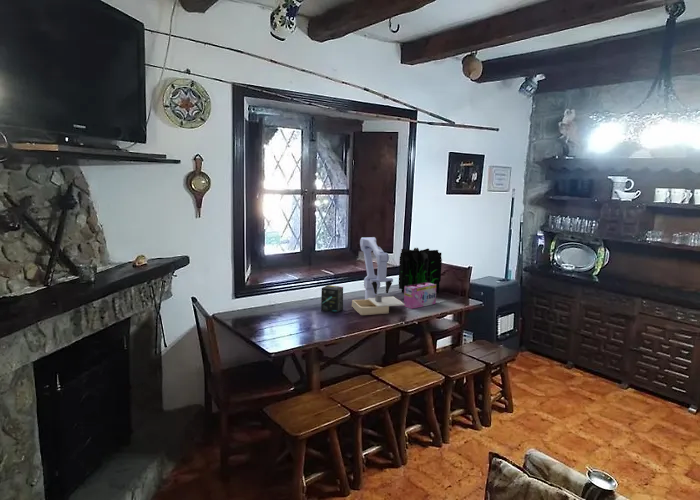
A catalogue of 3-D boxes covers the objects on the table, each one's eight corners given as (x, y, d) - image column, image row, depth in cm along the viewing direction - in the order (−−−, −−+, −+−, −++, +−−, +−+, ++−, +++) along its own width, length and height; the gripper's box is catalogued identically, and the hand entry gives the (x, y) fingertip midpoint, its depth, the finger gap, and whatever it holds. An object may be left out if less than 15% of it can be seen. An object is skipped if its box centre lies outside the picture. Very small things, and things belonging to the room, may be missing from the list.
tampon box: (343, 309, 293) (343, 286, 291) (336, 313, 285) (337, 289, 283) (327, 306, 298) (328, 284, 296) (320, 310, 290) (321, 287, 287)
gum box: (428, 300, 319) (429, 281, 317) (437, 303, 313) (438, 283, 310) (403, 306, 304) (404, 285, 302) (411, 309, 298) (412, 288, 296)
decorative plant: (446, 291, 347) (448, 251, 342) (423, 298, 325) (425, 255, 321) (414, 284, 366) (416, 246, 361) (390, 290, 345) (392, 250, 340)
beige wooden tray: (351, 307, 299) (352, 300, 298) (378, 305, 304) (378, 298, 303) (361, 315, 282) (361, 308, 281) (388, 313, 287) (388, 306, 287)
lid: (367, 299, 301) (367, 291, 300) (393, 297, 307) (393, 290, 306) (377, 306, 284) (377, 299, 283) (404, 305, 290) (404, 297, 289)
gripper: (373, 273, 286) (372, 295, 288) (395, 273, 290) (394, 294, 293) (369, 271, 293) (368, 292, 295) (390, 270, 297) (390, 291, 299)
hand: (381, 293), depth 294 cm, fingers open, 7 cm apart
